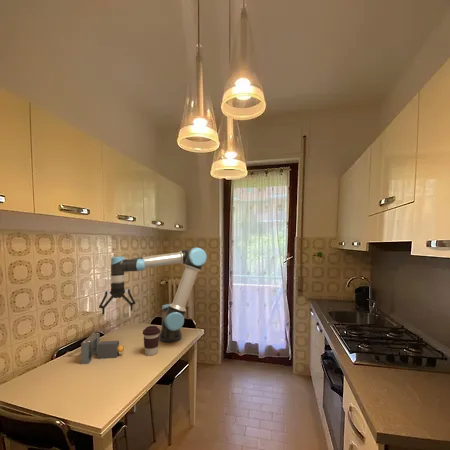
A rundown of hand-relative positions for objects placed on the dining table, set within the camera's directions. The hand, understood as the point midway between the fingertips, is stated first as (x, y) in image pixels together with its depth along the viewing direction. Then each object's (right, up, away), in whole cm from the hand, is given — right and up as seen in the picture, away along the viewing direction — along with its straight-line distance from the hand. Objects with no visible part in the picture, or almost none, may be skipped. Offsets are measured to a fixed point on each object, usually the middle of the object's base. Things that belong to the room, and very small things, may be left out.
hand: (117, 318), depth 155 cm
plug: (-2, -21, -5) cm, 21 cm away
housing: (-13, -21, -6) cm, 25 cm away
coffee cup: (+21, -21, -2) cm, 29 cm away
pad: (-26, -21, -1) cm, 33 cm away
